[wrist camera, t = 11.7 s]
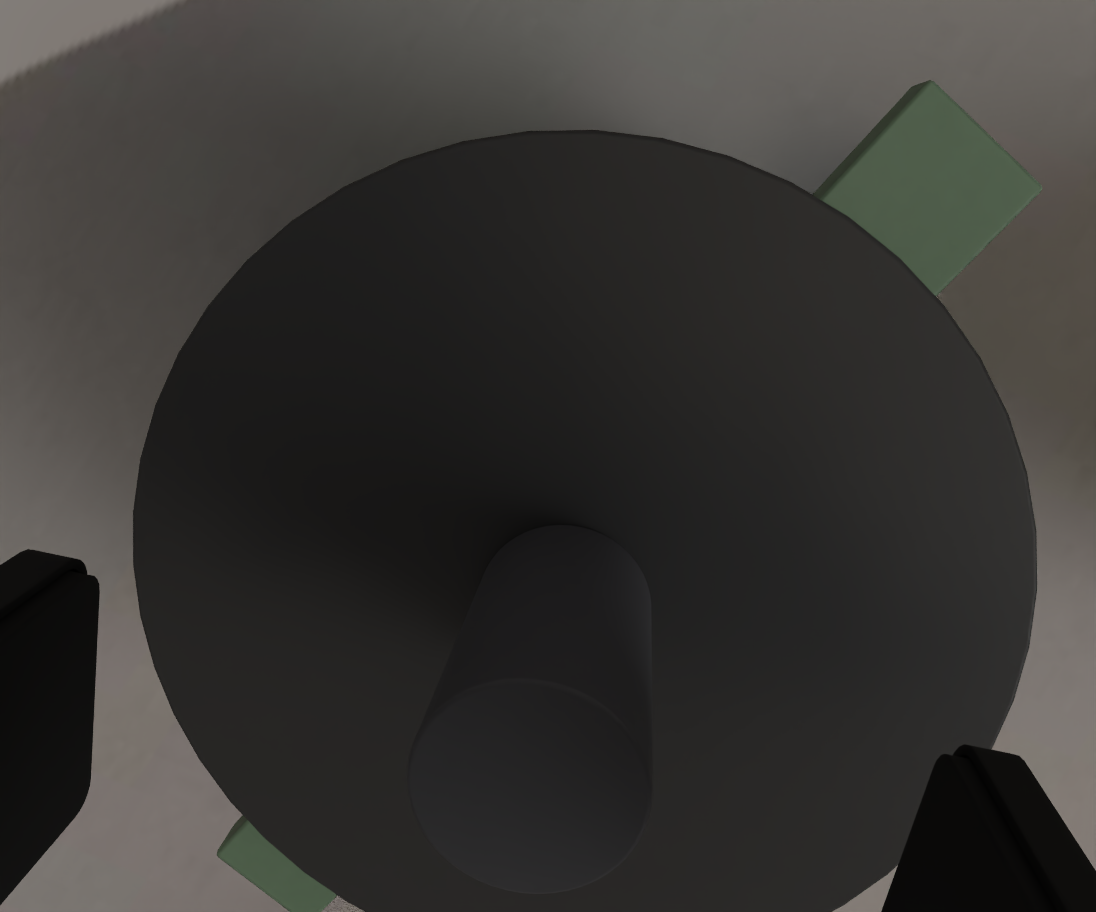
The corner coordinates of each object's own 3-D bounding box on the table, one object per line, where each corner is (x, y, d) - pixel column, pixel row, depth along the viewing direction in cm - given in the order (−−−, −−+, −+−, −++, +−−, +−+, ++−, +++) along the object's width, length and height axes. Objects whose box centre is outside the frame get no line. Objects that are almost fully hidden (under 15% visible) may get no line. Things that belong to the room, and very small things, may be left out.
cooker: (189, 525, 27) (-42, 700, 18) (647, -54, 22) (646, -218, 13) (555, 820, 29) (512, 1118, 20) (1065, 341, 23) (1329, 443, 14)
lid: (18, 593, 18) (-292, 797, 12) (520, -85, 14) (426, -278, 8) (605, 1050, 20) (587, 1429, 14) (1207, 555, 16) (1550, 786, 10)
